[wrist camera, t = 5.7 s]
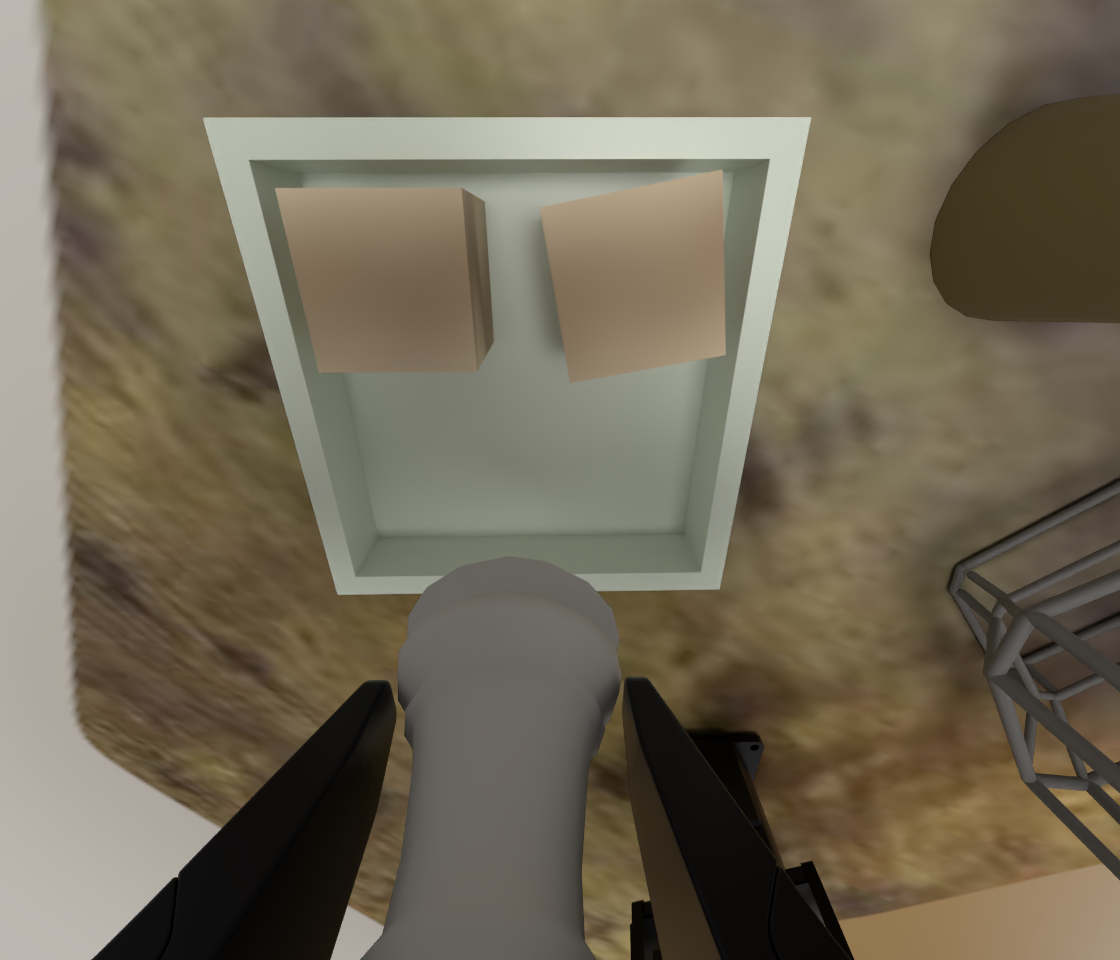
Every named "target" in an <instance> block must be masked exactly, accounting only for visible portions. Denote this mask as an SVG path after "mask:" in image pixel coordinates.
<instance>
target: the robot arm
mask: <svg viewBox="0 0 1120 960" xmlns="http://www.w3.org/2000/svg"><path fill="white" fill-rule="evenodd" d="M396 714H397V713H396V706H395V702H394V698H393V693H392V689H391V685H390V683H389V682H388V681H387V680H369V681H366V682H364V683H363V684H362V685H361V686H360V687H359V688H358V689H357V690H356V691H355V692H354V693H353V694H352V695H351V696H350V697H349V698H348V699H347V700H346V701H345V702H344V703H343V704H342V705H341V706H340V707H339V709H338V710H337V711H336V712H335V713H334V714H333V715H332V716H331V717H330V718H329V719H328V720H327V721H326V722H325V723H324V724H323V725H322V726H321V727H320V728H319V729H318V730H317V731H316V732H315V733H314V734H313V735H312V736H311V737H310V738H309V739H308V740H307V741H306V742H305V743H304V744H303V745H302V746H301V748H300V749H299V750H298V751H297V752H296V753H295V754H294V755H293V756H292V757H291V758H290V759H289V760H288V761H287V762H286V763H285V764H284V765H283V766H282V767H281V768H280V769H279V770H278V771H277V772H276V773H275V774H274V775H273V776H272V777H271V778H270V779H269V780H268V781H267V782H266V783H265V784H264V785H263V787H262V788H261V789H260V790H259V791H258V792H257V793H256V794H255V795H254V796H253V797H252V798H251V799H250V800H249V801H248V802H247V803H246V804H245V805H244V806H243V807H242V808H241V809H240V810H239V811H238V812H237V813H236V814H235V815H234V816H233V817H232V818H231V819H230V820H229V821H228V822H227V823H226V825H225V826H224V827H223V828H222V829H221V830H220V831H219V832H218V833H217V834H216V835H215V836H214V837H213V838H212V839H211V840H210V841H209V842H208V843H207V844H206V845H205V846H204V847H203V848H202V849H201V850H200V851H199V852H198V853H197V854H196V855H195V856H194V857H193V858H192V860H190V861H189V863H188V864H187V865H186V866H185V867H184V868H183V869H182V870H181V871H180V872H179V874H178V878H177V877H175V878H173V879H172V880H171V881H170V882H169V883H168V884H167V885H166V886H165V887H164V888H163V889H162V890H161V891H160V892H159V893H158V894H157V895H156V896H155V897H154V898H153V899H152V900H151V901H150V902H149V903H148V904H147V905H146V906H145V907H144V908H143V909H142V910H141V911H140V912H139V913H138V914H137V915H136V916H135V917H134V918H133V919H132V920H131V921H130V922H129V923H128V924H127V925H126V926H125V927H124V928H123V929H122V930H121V931H120V932H119V933H118V934H117V935H116V936H115V937H114V938H113V939H112V940H111V941H110V942H109V943H108V944H107V945H106V946H105V947H104V948H103V949H102V950H101V951H100V952H99V953H98V954H97V955H96V956H95V957H94V958H93V959H91V960H330V959H331V956H332V953H333V949H334V946H335V943H336V940H337V937H338V934H339V931H340V927H341V924H342V921H343V918H344V915H345V912H346V908H347V905H348V902H349V899H350V896H351V893H352V889H353V886H354V883H355V880H356V877H357V873H358V870H359V867H360V864H361V861H362V858H363V854H364V851H365V848H366V845H367V842H368V839H369V835H370V832H371V829H372V826H373V822H374V819H375V815H376V812H377V808H378V803H379V799H380V795H381V790H382V785H383V780H384V776H385V771H386V766H387V761H388V757H389V752H390V747H391V742H392V738H393V733H394V728H395V723H396ZM622 717H623V728H624V738H625V748H626V758H627V768H628V779H629V789H630V797H631V805H632V811H633V817H634V823H635V827H636V832H637V837H638V842H639V847H640V852H641V857H642V862H643V866H644V871H645V876H646V881H647V886H648V891H649V896H650V901H647V902H644V901H643V900H640V901H636V902H632V924H630V940H631V960H854V958H853V956H852V953H851V951H850V948H849V946H848V944H847V942H846V939H845V937H844V934H843V932H842V930H841V928H840V925H839V923H838V920H837V918H836V915H835V913H834V911H833V908H832V906H831V904H830V901H829V899H828V897H827V894H826V892H825V890H824V887H823V885H822V882H821V880H820V878H819V875H818V873H817V871H816V868H815V866H814V864H813V861H808V862H804V863H801V866H799V867H794V868H790V869H786V870H785V867H784V864H783V862H782V859H781V856H780V854H779V851H778V848H777V845H776V843H775V840H774V837H773V835H772V832H771V829H770V827H769V824H768V821H767V819H766V816H765V813H764V811H763V808H762V805H761V802H760V800H759V797H758V794H757V792H756V789H755V786H754V784H753V780H754V777H755V774H756V771H757V768H758V764H759V761H760V758H761V755H762V751H763V748H764V745H763V743H762V740H761V738H760V737H759V736H757V735H724V736H689V735H688V734H687V733H686V731H685V730H684V728H683V727H682V725H681V724H680V723H679V721H678V720H677V718H676V717H675V716H674V714H673V713H672V711H671V710H670V709H669V707H668V706H667V704H666V703H665V701H664V700H663V699H662V697H661V696H660V694H659V693H658V692H657V690H656V689H655V687H654V686H653V685H652V683H651V682H650V680H649V679H648V678H646V677H627V678H626V679H625V681H624V692H623V704H622ZM824 925H825V926H826V927H825V926H824Z"/></svg>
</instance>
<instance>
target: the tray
mask: <svg viewBox="0 0 1120 960" xmlns="http://www.w3.org/2000/svg"><path fill="white" fill-rule="evenodd" d="M203 121H204V124H205V128H206V131H207V135H208V138H209V142H210V146H211V149H212V153H213V156H214V160H215V163H216V167H217V170H218V174H219V177H220V181H221V184H222V188H223V191H224V195H225V199H226V202H227V206H228V209H229V213H230V216H231V220H232V223H233V227H234V230H235V234H236V237H237V241H238V244H239V248H240V252H241V255H242V259H243V262H244V266H245V269H246V273H247V276H248V280H249V283H250V287H251V290H252V294H253V297H254V301H255V305H256V308H257V312H258V315H259V319H260V322H261V326H262V329H263V333H264V336H265V340H266V343H267V347H268V350H269V354H270V358H271V361H272V365H273V368H274V372H275V375H276V379H277V382H278V386H279V389H280V393H281V396H282V400H283V403H284V407H285V410H286V414H287V418H288V421H289V425H290V428H291V432H292V435H293V439H294V442H295V446H296V449H297V453H298V456H299V460H300V463H301V467H302V471H303V474H304V478H305V481H306V485H307V488H308V492H309V495H310V499H311V502H312V506H313V509H314V513H315V516H316V520H317V524H318V527H319V531H320V534H321V538H322V541H323V545H324V548H325V552H326V555H327V559H328V562H329V566H330V569H331V573H332V577H333V580H334V584H335V587H336V591H337V594H338V595H355V594H423V592H424V590H425V589H426V587H428V586H429V585H431V584H433V583H434V582H436V581H437V580H439V579H441V578H442V577H444V576H445V575H447V574H449V573H450V572H452V571H453V570H455V569H457V568H458V567H460V566H463V565H468V564H472V563H477V562H482V561H487V560H492V559H497V558H502V557H507V556H510V557H518V558H526V559H533V560H541V561H546V562H549V563H551V564H553V565H555V566H557V567H559V568H561V569H563V570H565V571H567V572H569V573H571V574H573V575H575V576H577V577H579V578H581V579H583V580H585V581H587V582H589V583H590V585H591V586H592V587H593V588H594V589H595V590H596V591H644V590H716V589H720V585H721V580H722V575H723V569H724V564H725V559H726V554H727V549H728V544H729V539H730V533H731V528H732V523H733V518H734V513H735V508H736V502H737V497H738V492H739V487H740V482H741V477H742V472H743V466H744V461H745V456H746V451H747V446H748V441H749V435H750V430H751V425H752V420H753V415H754V410H755V405H756V399H757V394H758V389H759V384H760V379H761V374H762V368H763V363H764V358H765V353H766V348H767V343H768V338H769V332H770V327H771V322H772V317H773V312H774V307H775V302H776V296H777V291H778V286H779V281H780V276H781V271H782V265H783V260H784V255H785V250H786V245H787V240H788V235H789V229H790V224H791V219H792V214H793V209H794V204H795V198H796V193H797V188H798V183H799V178H800V173H801V168H802V162H803V157H804V152H805V147H806V142H807V137H808V131H809V126H810V121H811V117H485V118H203ZM718 170H723V226H724V284H725V342H726V355H723V356H718V357H712V358H707V359H701V360H696V361H690V362H685V363H679V364H674V365H668V366H663V367H657V368H652V369H646V370H641V371H635V372H629V373H624V374H618V375H613V376H607V377H602V378H596V379H591V380H585V381H580V382H574V383H570V380H569V374H568V369H567V363H566V357H565V351H564V345H563V340H562V334H561V328H560V322H559V316H558V311H557V305H556V299H555V293H554V288H553V282H552V276H551V270H550V264H549V259H548V253H547V247H546V241H545V236H544V230H543V224H542V218H541V212H540V207H545V206H549V205H554V204H559V203H564V202H569V201H573V200H578V199H583V198H588V197H593V196H598V195H602V194H607V193H612V192H617V191H622V190H626V189H631V188H636V187H641V186H646V185H651V184H655V183H660V182H665V181H670V180H675V179H679V178H684V177H689V176H694V175H699V174H703V173H708V172H713V171H718ZM275 188H463V189H465V190H466V191H468V192H470V193H471V194H473V195H475V196H477V197H478V198H480V199H482V200H483V201H485V212H486V228H487V243H488V258H489V273H490V288H491V303H492V318H493V333H494V343H493V344H492V346H491V348H490V350H489V351H488V353H487V355H486V357H485V359H484V360H483V362H482V364H481V366H480V367H479V369H478V371H477V372H386V373H319V370H318V366H317V362H316V358H315V354H314V349H313V345H312V341H311V337H310V333H309V329H308V324H307V320H306V316H305V312H304V308H303V304H302V299H301V295H300V291H299V287H298V283H297V279H296V274H295V270H294V266H293V262H292V258H291V253H290V249H289V245H288V241H287V237H286V233H285V228H284V224H283V220H282V216H281V212H280V208H279V203H278V199H277V195H276V191H275Z"/></svg>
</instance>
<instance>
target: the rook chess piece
mask: <svg viewBox="0 0 1120 960" xmlns="http://www.w3.org/2000/svg"><path fill="white" fill-rule="evenodd" d="M619 641H620V640H619V636H618V631H617V627H616V623H615V619H614V614H613V610H612V609H611V608H610V606H609V605H608V604H607V603H606V602H605V601H604V600H603V598H602V597H601V596H600V595H599V594H598V593H597V591H596V590H595V589H594V588H593V587H592V586H591V585H590V583H589V582H587V581H585V580H583V579H581V578H579V577H577V576H575V575H573V574H571V573H569V572H567V571H565V570H563V569H561V568H559V567H557V566H555V565H553V564H551V563H549V562H546V561H541V560H533V559H526V558H518V557H510V556H507V557H502V558H497V559H492V560H487V561H482V562H477V563H472V564H468V565H463V566H460V567H458V568H457V569H455V570H453V571H452V572H450V573H449V574H447V575H445V576H444V577H442V578H441V579H439V580H437V581H436V582H434V583H433V584H431V585H429V586H428V587H426V589H425V590H424V592H423V594H422V595H421V597H420V598H419V600H418V602H417V603H416V605H415V606H414V608H413V610H412V611H411V613H410V614H409V616H408V638H407V639H406V641H405V642H404V644H403V645H402V647H401V649H400V650H399V667H398V701H399V703H400V704H401V706H402V708H403V710H404V711H405V737H406V739H407V741H408V742H409V744H410V746H411V747H412V749H413V770H412V777H411V785H410V793H409V800H408V808H407V816H406V823H405V831H404V839H403V846H402V854H401V860H400V864H399V868H398V872H397V877H396V881H395V885H394V889H393V893H392V897H391V901H390V905H389V909H388V913H387V917H386V921H385V925H384V929H383V933H382V935H381V936H380V938H379V939H378V940H377V941H376V942H375V943H374V945H373V946H372V947H371V948H370V949H369V950H368V951H367V953H366V954H365V955H364V956H363V957H362V958H361V959H360V960H596V959H595V957H594V955H593V954H592V952H591V950H590V949H589V947H588V946H587V944H586V942H585V936H584V914H583V893H582V856H583V841H584V826H585V811H586V795H587V780H588V772H589V767H590V762H591V759H592V758H593V757H594V756H595V755H596V754H597V753H598V750H599V747H600V743H601V740H602V737H603V734H604V731H605V727H604V726H605V725H606V724H607V723H608V722H609V721H610V718H611V715H612V712H613V709H614V706H615V703H616V700H617V697H618V694H619V689H620V683H621V677H622V674H621V670H620V665H619V661H618V657H617V653H616V651H617V648H618V645H619Z"/></svg>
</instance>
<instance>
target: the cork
mask: <svg viewBox="0 0 1120 960" xmlns="http://www.w3.org/2000/svg"><path fill="white" fill-rule="evenodd" d="M930 257H931V264H932V271H933V279H934V283H935V284H936V286H937V288H938V290H939V291H940V293H941V295H942V296H943V298H944V300H945V302H946V303H947V304H949V305H950V306H952V307H953V308H955V309H956V310H958V311H959V312H961V313H962V314H964V315H965V316H968V317H974V318H980V319H986V320H992V321H1043V322H1094V323H1120V94H1112V95H1103V96H1095V97H1086V98H1078V99H1073V100H1068V101H1062V102H1057V103H1052V104H1047V105H1043V106H1042V107H1040V108H1038V109H1036V110H1034V111H1032V112H1030V113H1028V114H1026V115H1024V116H1023V117H1021V118H1019V119H1017V120H1015V121H1013V122H1011V123H1009V124H1008V125H1007V126H1006V127H1005V128H1003V129H1002V130H1001V131H1000V132H999V133H998V134H997V135H995V136H994V137H993V138H992V139H991V140H990V141H989V142H987V143H986V144H985V145H984V146H983V147H982V148H981V149H979V150H978V151H977V152H976V154H975V155H974V156H973V158H972V159H971V160H970V162H969V163H968V164H967V166H966V167H965V168H964V170H963V171H962V172H961V174H960V175H959V176H958V178H957V179H956V180H955V182H954V183H953V184H952V186H951V188H950V190H949V193H948V195H947V197H946V199H945V202H944V204H943V206H942V208H941V210H940V213H939V215H938V217H937V219H936V223H935V229H934V234H933V240H932V245H931V251H930Z"/></svg>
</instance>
